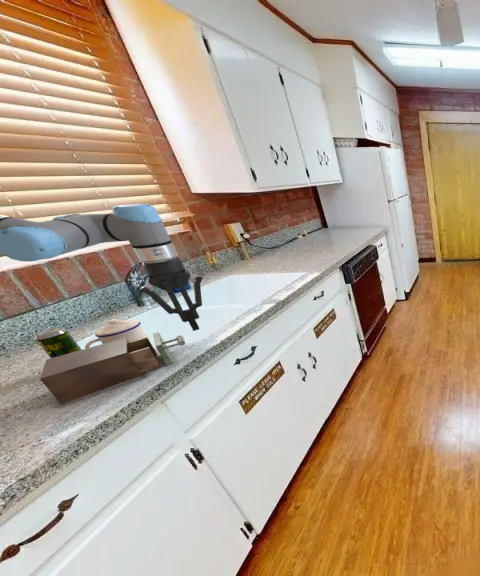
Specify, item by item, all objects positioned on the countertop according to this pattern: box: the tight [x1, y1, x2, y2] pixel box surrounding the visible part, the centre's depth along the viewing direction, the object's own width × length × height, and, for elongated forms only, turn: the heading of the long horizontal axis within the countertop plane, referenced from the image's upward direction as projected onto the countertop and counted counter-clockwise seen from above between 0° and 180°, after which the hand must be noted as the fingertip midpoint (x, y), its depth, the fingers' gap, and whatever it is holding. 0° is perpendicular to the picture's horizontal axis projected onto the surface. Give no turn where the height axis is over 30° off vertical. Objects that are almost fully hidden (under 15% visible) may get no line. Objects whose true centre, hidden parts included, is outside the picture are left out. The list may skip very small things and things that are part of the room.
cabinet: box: [39, 338, 143, 405], centre depth 81 cm, size 14×12×9 cm
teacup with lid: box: [84, 318, 153, 349], centre depth 93 cm, size 12×9×12 cm
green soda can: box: [33, 326, 83, 359], centre depth 87 cm, size 5×5×12 cm
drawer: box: [128, 332, 186, 374], centre depth 87 cm, size 17×10×7 cm, turn 141°
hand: (195, 328), depth 94 cm, fingers closed
